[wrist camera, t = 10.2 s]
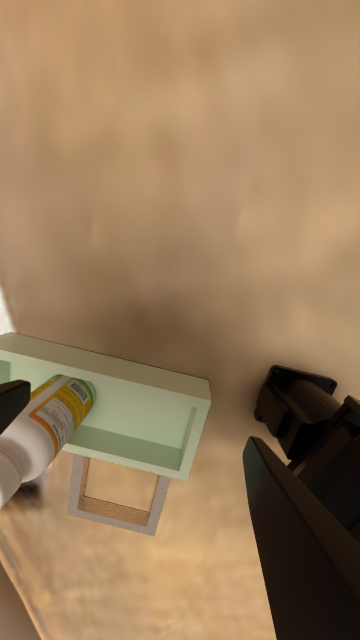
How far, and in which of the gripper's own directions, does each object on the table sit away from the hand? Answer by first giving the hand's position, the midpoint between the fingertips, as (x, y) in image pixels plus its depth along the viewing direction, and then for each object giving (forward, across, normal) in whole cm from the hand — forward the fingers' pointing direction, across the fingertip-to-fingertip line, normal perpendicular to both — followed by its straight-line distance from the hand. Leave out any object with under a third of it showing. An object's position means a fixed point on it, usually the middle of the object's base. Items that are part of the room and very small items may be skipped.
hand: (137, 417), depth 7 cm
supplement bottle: (+11, +9, +9) cm, 17 cm away
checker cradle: (+12, +2, +20) cm, 24 cm away
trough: (+12, +6, +9) cm, 16 cm away
